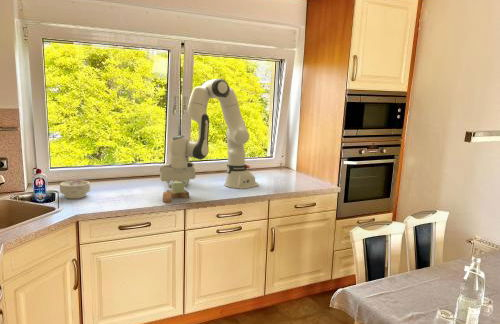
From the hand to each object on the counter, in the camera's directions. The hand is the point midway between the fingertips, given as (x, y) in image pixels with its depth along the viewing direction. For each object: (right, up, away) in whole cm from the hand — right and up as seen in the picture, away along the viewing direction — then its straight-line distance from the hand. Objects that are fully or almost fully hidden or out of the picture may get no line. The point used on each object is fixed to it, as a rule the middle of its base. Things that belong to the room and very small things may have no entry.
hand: (178, 187), depth 219 cm
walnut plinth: (0, -5, +1) cm, 5 cm away
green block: (0, -2, +1) cm, 2 cm away
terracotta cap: (-4, -7, -11) cm, 14 cm away
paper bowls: (-55, -5, -9) cm, 56 cm away
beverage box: (-4, 0, +28) cm, 28 cm away
